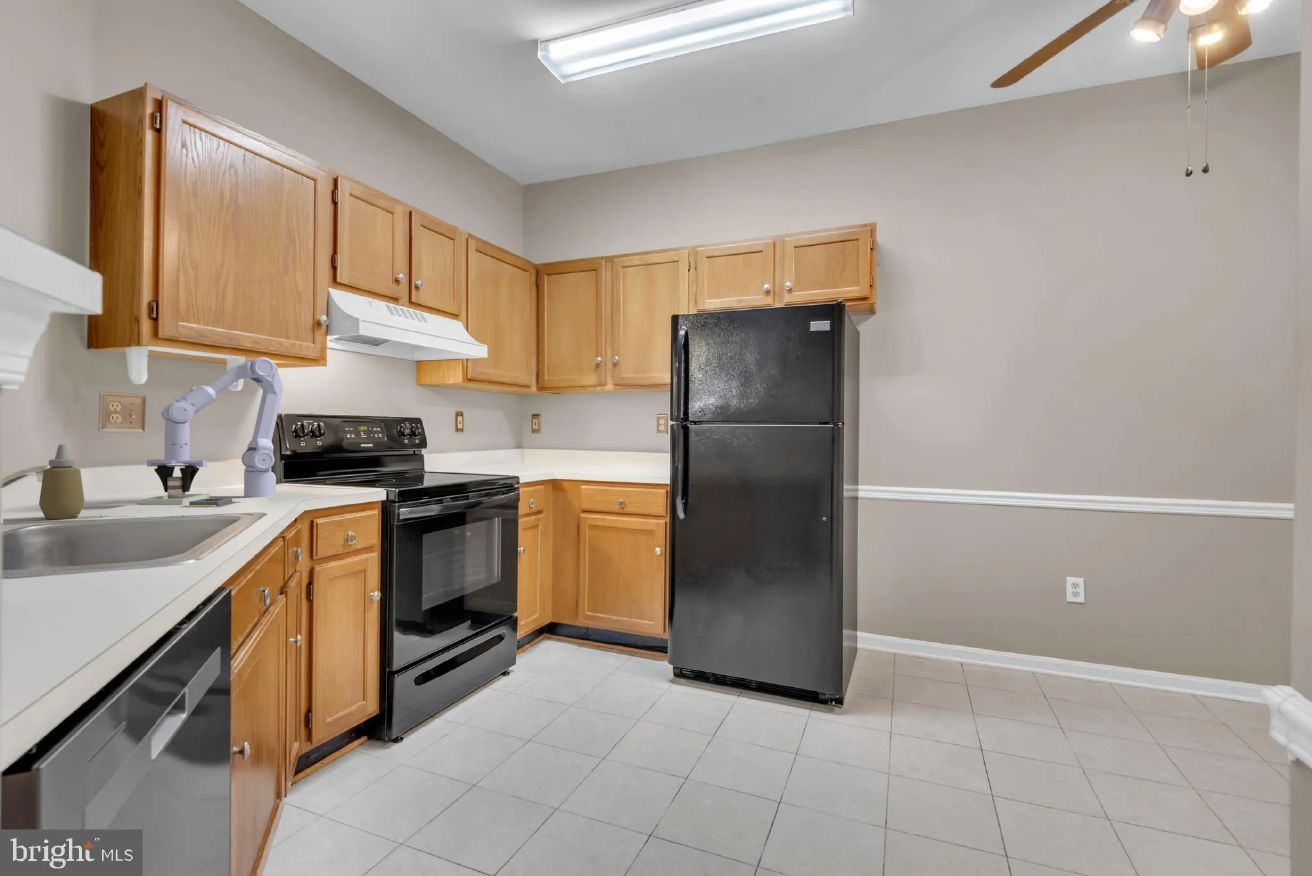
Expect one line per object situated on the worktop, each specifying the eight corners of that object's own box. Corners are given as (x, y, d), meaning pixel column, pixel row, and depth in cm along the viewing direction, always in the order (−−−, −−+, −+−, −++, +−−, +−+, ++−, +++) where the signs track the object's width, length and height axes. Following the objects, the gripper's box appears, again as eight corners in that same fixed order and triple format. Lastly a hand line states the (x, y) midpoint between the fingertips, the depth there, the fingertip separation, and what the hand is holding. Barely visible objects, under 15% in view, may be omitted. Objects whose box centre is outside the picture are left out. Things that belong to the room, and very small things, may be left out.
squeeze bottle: (32, 521, 145) (31, 445, 145) (48, 516, 153) (47, 444, 152) (76, 519, 149) (76, 445, 148) (90, 514, 156) (90, 444, 156)
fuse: (171, 497, 177) (171, 476, 177) (188, 497, 178) (188, 476, 178) (164, 499, 173) (164, 477, 173) (181, 498, 174) (181, 477, 174)
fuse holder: (203, 505, 177) (203, 497, 177) (241, 505, 179) (241, 497, 179) (178, 510, 165) (178, 502, 165) (218, 510, 167) (218, 502, 167)
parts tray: (171, 502, 182) (171, 493, 182) (209, 502, 184) (209, 493, 183) (141, 508, 169) (141, 499, 169) (182, 508, 170) (182, 499, 170)
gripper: (139, 444, 171) (139, 493, 171) (196, 445, 173) (196, 493, 173) (156, 443, 178) (156, 490, 178) (211, 444, 180) (210, 490, 180)
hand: (177, 492), depth 176 cm, fingers closed on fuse, 4 cm apart
